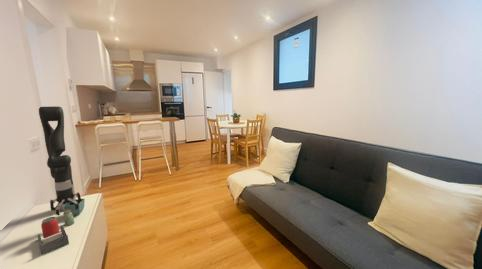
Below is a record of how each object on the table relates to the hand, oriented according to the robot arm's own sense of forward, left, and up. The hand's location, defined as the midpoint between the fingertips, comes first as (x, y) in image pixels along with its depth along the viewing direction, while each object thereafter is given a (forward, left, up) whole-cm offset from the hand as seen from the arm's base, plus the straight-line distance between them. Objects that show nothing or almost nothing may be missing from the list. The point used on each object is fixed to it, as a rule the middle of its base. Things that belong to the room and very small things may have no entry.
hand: (67, 212), depth 123 cm
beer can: (+10, -9, -9) cm, 16 cm away
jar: (0, 0, -8) cm, 8 cm away
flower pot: (-11, +5, -9) cm, 15 cm away
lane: (+14, -9, -8) cm, 19 cm away
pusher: (+15, -9, -8) cm, 19 cm away
